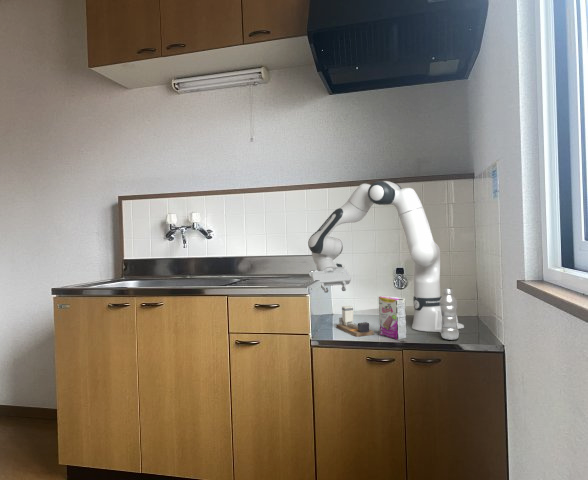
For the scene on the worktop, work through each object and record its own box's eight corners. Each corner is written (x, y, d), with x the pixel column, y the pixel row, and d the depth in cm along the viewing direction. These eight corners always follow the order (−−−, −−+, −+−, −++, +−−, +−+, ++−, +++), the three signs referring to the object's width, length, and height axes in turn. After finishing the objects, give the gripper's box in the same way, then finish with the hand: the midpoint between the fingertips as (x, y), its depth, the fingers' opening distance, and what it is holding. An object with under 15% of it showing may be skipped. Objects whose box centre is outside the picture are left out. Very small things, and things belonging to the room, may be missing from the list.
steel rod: (348, 323, 195) (348, 315, 195) (369, 331, 176) (369, 323, 176) (340, 324, 193) (340, 316, 193) (360, 332, 175) (360, 324, 175)
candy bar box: (379, 335, 176) (377, 296, 175) (388, 333, 178) (386, 295, 178) (398, 340, 166) (396, 299, 166) (407, 338, 168) (405, 298, 168)
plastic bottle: (460, 341, 160) (458, 289, 160) (442, 341, 162) (440, 289, 162) (457, 337, 167) (455, 287, 167) (439, 337, 168) (437, 287, 168)
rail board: (352, 325, 196) (351, 316, 196) (373, 334, 177) (373, 324, 177) (336, 327, 193) (336, 318, 193) (356, 336, 174) (356, 326, 174)
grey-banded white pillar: (350, 323, 193) (349, 305, 193) (353, 324, 190) (352, 306, 190) (342, 324, 191) (341, 306, 191) (345, 325, 189) (344, 307, 189)
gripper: (309, 266, 206) (317, 288, 197) (346, 264, 213) (356, 285, 203) (306, 275, 210) (314, 296, 201) (342, 272, 217) (352, 293, 208)
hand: (335, 291), depth 202 cm, fingers open, 8 cm apart
